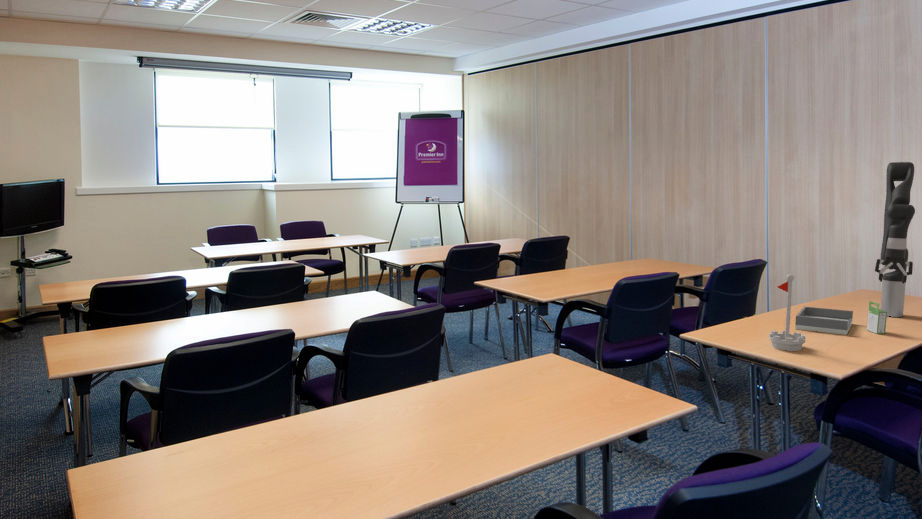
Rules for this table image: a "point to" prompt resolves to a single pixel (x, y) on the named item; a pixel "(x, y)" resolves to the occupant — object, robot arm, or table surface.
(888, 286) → the robot arm
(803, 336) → the flag stand
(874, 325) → the ink box
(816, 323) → the tray
